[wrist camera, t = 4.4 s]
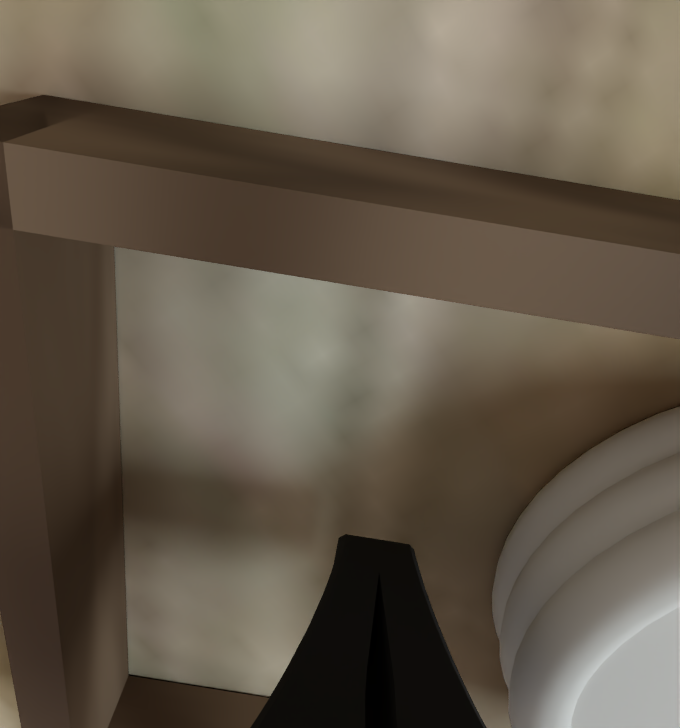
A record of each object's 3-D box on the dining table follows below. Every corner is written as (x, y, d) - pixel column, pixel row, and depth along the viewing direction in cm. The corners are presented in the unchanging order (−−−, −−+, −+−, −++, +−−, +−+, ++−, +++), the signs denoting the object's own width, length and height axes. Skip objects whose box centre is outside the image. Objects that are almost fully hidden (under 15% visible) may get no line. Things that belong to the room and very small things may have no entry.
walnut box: (92, 692, 17) (37, 817, 14) (43, 94, 10) (-87, 127, 7) (825, 808, 17) (902, 953, 15) (1333, 308, 10) (1679, 420, 7)
